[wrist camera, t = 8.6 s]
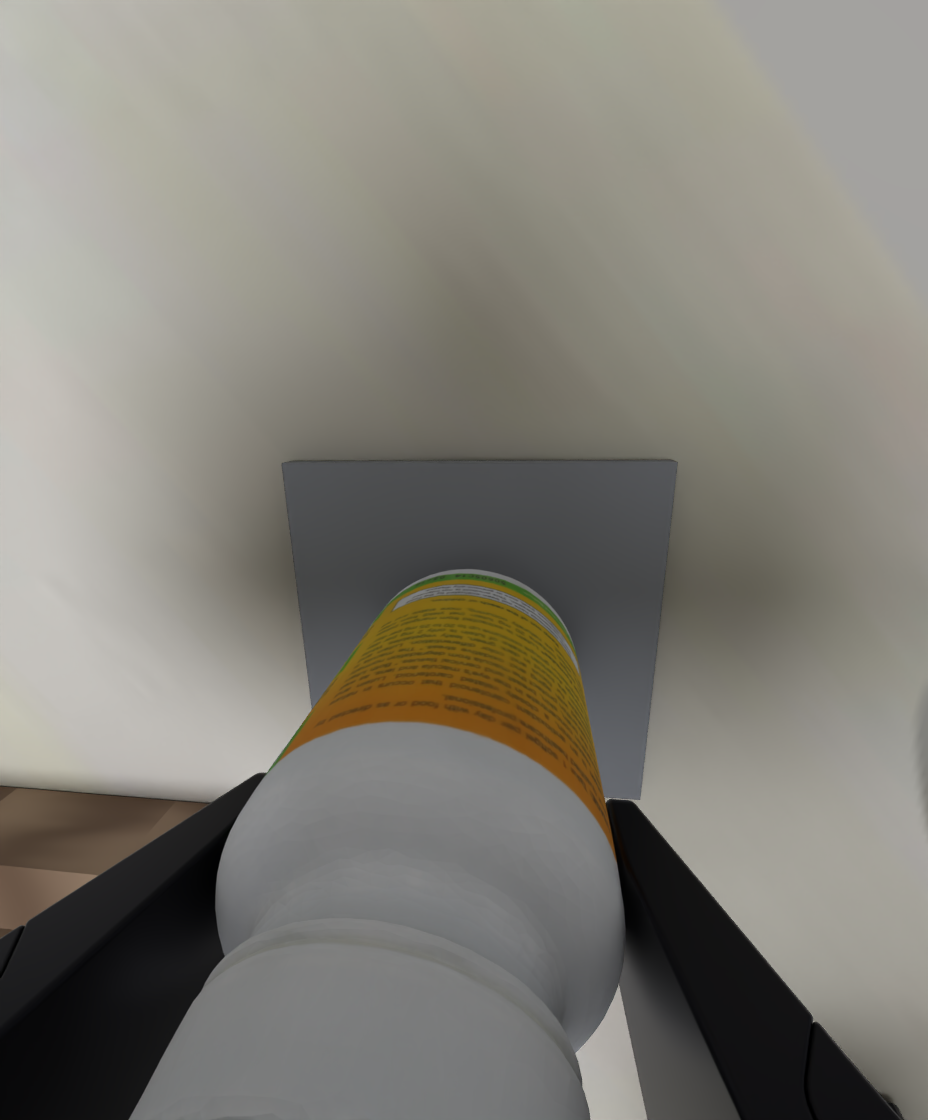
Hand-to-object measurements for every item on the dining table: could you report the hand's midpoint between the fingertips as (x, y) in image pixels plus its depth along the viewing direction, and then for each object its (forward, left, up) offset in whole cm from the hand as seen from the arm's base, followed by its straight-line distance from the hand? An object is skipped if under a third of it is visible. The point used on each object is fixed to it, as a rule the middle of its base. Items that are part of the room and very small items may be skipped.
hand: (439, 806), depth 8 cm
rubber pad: (0, 0, -6) cm, 6 cm away
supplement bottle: (0, 0, -5) cm, 5 cm away
